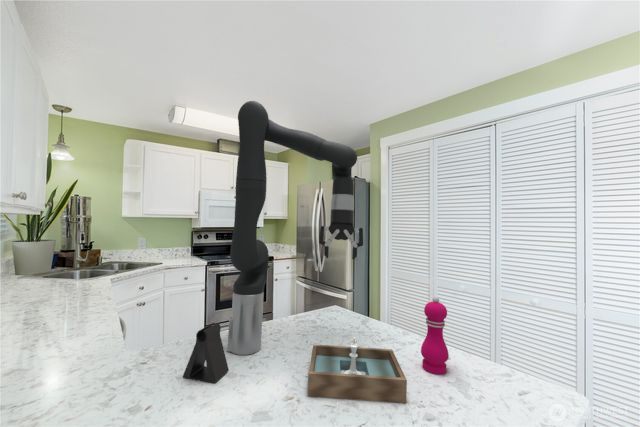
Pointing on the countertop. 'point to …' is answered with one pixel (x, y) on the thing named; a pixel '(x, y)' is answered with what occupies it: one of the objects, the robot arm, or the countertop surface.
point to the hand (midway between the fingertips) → (340, 258)
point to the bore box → (376, 385)
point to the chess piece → (353, 359)
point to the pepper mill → (435, 338)
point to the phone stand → (207, 356)
